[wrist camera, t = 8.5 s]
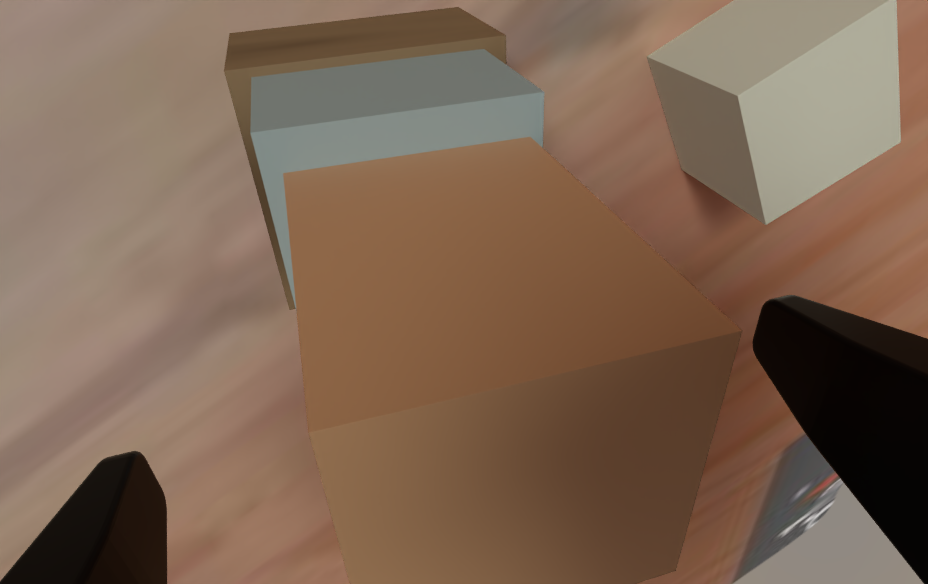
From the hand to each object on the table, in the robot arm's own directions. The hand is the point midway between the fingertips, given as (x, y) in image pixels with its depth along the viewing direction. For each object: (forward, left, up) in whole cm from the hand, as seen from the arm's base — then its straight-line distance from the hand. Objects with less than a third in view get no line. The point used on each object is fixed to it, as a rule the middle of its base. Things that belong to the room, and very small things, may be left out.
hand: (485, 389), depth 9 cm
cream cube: (0, -12, -11) cm, 16 cm away
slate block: (0, 0, -8) cm, 8 cm away
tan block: (0, 0, -4) cm, 4 cm away
